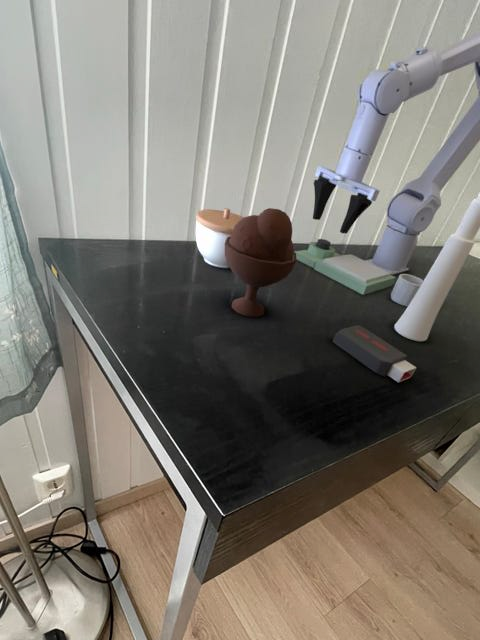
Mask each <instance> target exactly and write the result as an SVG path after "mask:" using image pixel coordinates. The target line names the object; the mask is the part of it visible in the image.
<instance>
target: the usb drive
mask: <svg viewBox="0 0 480 640" xmlns="http://www.w3.org/2000/svg"><path fill="white" fill-rule="evenodd" d="M332 343H333V344H335V345H336V346H338V347H339V348H340V349H342V350H343V351H345V352H346V353H347V354H348V355H350V356H351V357H352V358H354V359H356V360H357V361H359V362H360V363H361V364H363V365H364V366H365V367H367V368H368V369H369V370H371V371H372V372H373V373H375V374H378V375H379V376H382V377H387V376H388V377H390V378H391V379H392V380H394V381H395V382H397V384H398V383H399V384H400V383H402V382H403V381H406V380H408V379H410V378H411V377H412V376H413V374H414V373H415V371H416V370H417V367H416V366H415V365H413V364H412V363H410V362H409V361H407V359H408V355H407V354H405V353H403V352H402V351H401V350H399V349H397V348H396V347H395V346H393V345H391V344H390V343H388V342H386V341H385V340H383V339H382V338H380V336H378V335H376V334H374V333H373V332H371V331H370V330H369V329H367V328H366V327H363V326H362V325H354V326H350V327H349V326H348V327H345V328H341V329H340V330H338V331H337V332H336V333H335V334H334V336H333V339H332Z"/></svg>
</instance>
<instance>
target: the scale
mask: <svg viewBox="0 0 480 640" xmlns="http://www.w3.org/2000/svg"><path fill="white" fill-rule="evenodd" d="M313 270H314V271H316V272H318V273H320V274H322V275H324V276H326V277H328V278H330V279H331V280H333V281H335V282H338V283H339V284H340V285H343V286H345V287H347V288H348V289H351V290H353V291H355V292H356V293H358V294H361V295H362V296H364V295H368V294H371V293H374V292H377V291H380V290H383V289H386V288H390V287H392V286H394V285H393V284H394V282H395V280H396V276H394V275H391V273H389V272H387V271H385V270H383V269H381V268H379V267H377V266H375V265H372V264H370V263H368V262H366V261H365V260H364V259H361V258H360V257H358V256H356V255H354V254H351V253H350V254H343V255H342V256H337V257H332V258H326V259H322V260H317V261H316V264H315V267H314V268H313Z"/></svg>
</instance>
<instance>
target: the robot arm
mask: <svg viewBox="0 0 480 640" xmlns="http://www.w3.org/2000/svg"><path fill="white" fill-rule="evenodd" d="M414 53H415V54H414V55H411V56H409V57H407V58H405V59H403V60H401V61H400V60H398V59H397V60H393V61H392V62H390V66H389V67H388V68H387V69H374V70H373V71H371V72H370V73H369V74H368V75H367V77H365V79H364V81H363V83H360V84H359V87H358V91H357V100H358V106H357V110H356V112H355V117H354V119H353V122H352V125H351V128H350V131H349V133H348V136H347V138H346V141H345V145H344V147H343V149H342V153H341V155H340V159H339V161H338V164H337V166H336V169H335V170H333V169H330V168H328V167H325V166H321V165H318V166H317V168H316V170H315V174H314V177H316V178H317V179H314V180H313V186H314V187H313V188H314V205H313V214H312V219H313V220H315V221H320V220H321V218H322V216H323V213H324V211H325V208H326V206H327V204H328V201H329V199H330V197H331V195H332V193H333V192H334V190H335V189H336V187H337V186H338V187H340V188H342V189H345V190H347V191H349V192H352V193H353V194H350V198H349V203H348V208H347V211H346V214H345V216H344V219H343V221H342V224H341V227H340V230H339V233H341V234H348V233H349V231H350V230H351V228H352V226H353V225H354V224H355V222H356V221H357V220H358V218H359V217H360V216H361V215H362V214H363V213H364V212H365V211H366V210H368V208H369V207H370V206H371V205H372V204H373V202H376V200H377V198H378V196H379V194H380V192H381V190H380V189H378V188H375V187H373V186H371V185H369V184H368V183H364V182H363V179H364V177H365V175H366V173H367V170H368V168H369V165H370V163H371V161H372V158H373V156H374V153H375V150H376V148H377V145H378V143H379V142H380V141H379V140H380V139H381V136H382V134H383V131H384V129H385V126H386V123H387V121H388V119H389V116H390V114H394V113H395V112H397V110H398V109H400V107H401V106H402V103H404V102H406V101H408V100H410V99H413V98H415V97H416V96H419V95H421V94H423V93H425V92H428V91H430V90H432V89H433V88H434V87H435V85H436V83H437V82H438V80H439V78H440V77H441V76H444V75H446V74H449V73H452V72H454V71H456V70H459V69H462V68H463V67H466V66H468V65H471V64H473V65H474V73H475V82H476V89H477V90H478V96H477V98H476V100H475V101H474V103H473V104H472V105H471V106H470V108H469V109H468V111H467V112H466V113H465V115H464V117H463V118H462V119H461V120H460V122H459V123H458V124H457V126H456V127H455V128H454V130H453V131H452V133H451V134H450V135H449V137H448V138H447V139H446V141H445V142H444V143H443V145H442V146H441V148H439V150H438V152H437V153H436V154H435V156H434V157H433V158H432V159H431V161H430V162H429V164H428V165H427V166H426V168H425V169H424V171H423V172H422V173H421V174H420V176H419V177H418V178H415V179H413V180H411V181H409V182H407V183H406V184H405V185H404V186H403V188H402V189H401V190H399V192H397V193H396V194H394V196H392V198H391V199H390V200H389V202H388V204H387V208H386V217H387V219H386V224H387V225H386V227H385V228H384V230H383V231H384V232H383V234H382V236H381V239H380V240H379V243H378V245H377V248H376V251H375V253H374V255H373V258H370V259H365V260H364V261H366V262H368V263H370V264H372V265H375V266H377V267H379V268H381V269H383V270H385V271H387V272H389V273H391V275H392V276H394V275H397V274H402V273H404V272H408V271H409V270H410V268H409V267H407V265H408V263H409V262H410V259H411V257H412V255H413V254H414V251H415V250H416V247H417V245H418V242H419V237H418V236H420V234H421V233H422V232H424V231H425V230H426V229H427V228H428V227H429V226H430V225H431V224H432V221H433V220H434V218H435V215H436V213H437V212H438V210H439V209H440V207H441V206H442V198H441V191H442V190H443V188H444V187H445V186H446V185H447V183H448V182H449V181H450V180H451V178H452V177H453V176H454V174H455V173H456V172H457V170H458V169H459V168H460V167H461V165H462V164H463V162H465V160H466V159H467V157H468V156H469V155H470V154H471V152H472V151H473V150H474V149H475V147H476V146H477V145H478V143H479V142H480V29H479V30H478V31H476V32H473V33H472V34H470V35H468V36H467V37H464V38H462V39H461V40H459V41H457V42H455V43H454V44H452V45H450V46H448V47H446V48H444V49H442V50H441V51H439V52H437V51H436V50H435V49H434V48H429V47H427V46H420V47H419V48H416V49H415V52H414ZM341 182H342V183H341ZM345 184H346V185H345ZM348 185H349V186H348Z"/></svg>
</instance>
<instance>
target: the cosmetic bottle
mask: <svg viewBox="0 0 480 640" xmlns="http://www.w3.org/2000/svg"><path fill="white" fill-rule="evenodd" d="M479 231H480V191H479V192H478V194H477V197H476V198H474V199H472V200H471V202H470V205H468V208H467V210H466V211H465V214H464V215H463V217H462V219H461V221H460V223H459V225H458V226H457V228H456V230H455V232H454V233H451V234H450V235H449V237H448V239H447V240H446V242H445V244H444V245H443V247H442V248H441V250H440V252H439V253H438V255H437V257H436V259H434V262H433V264H432V266H431V267H430V269H429V270H428V272H427V275H426V276H425V277H424V279H423V280H424V281H423V283H422V285H421V286H420V288H419V290H418V291H417V293H416V295H415V296H414V298H413V299H412V301H411V303H410V304H409V306H408V307H407V306H406V308H405V310H404V312H403V313H402V315H401V316H400V317H399V319H398V320H397V321H396V323H394V325H393V326H394V327H393V328H394V330H395V332H397V334H399V335H400V336H402V337H403V338H406V339H409V340H411V341H415V342H426V341H427V340H428V338H429V335H430V332H431V330H432V328H433V326H434V323H435V321H436V319H437V317H438V314H439V312H440V310H441V308H442V306H443V304H444V302H445V300H446V299H447V296H448V294H449V292H450V291H451V289H452V287H453V285H454V284H455V281H456V279H457V277H458V276H459V274H460V272H461V270H462V268H463V266H464V264H465V263H466V261H467V258H469V257H468V256H469V255H470V253H471V251H472V249H473V247H474V245H475V242H476V241H475V240H474V239H475V237H476V235H477V234H478V232H479Z"/></svg>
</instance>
